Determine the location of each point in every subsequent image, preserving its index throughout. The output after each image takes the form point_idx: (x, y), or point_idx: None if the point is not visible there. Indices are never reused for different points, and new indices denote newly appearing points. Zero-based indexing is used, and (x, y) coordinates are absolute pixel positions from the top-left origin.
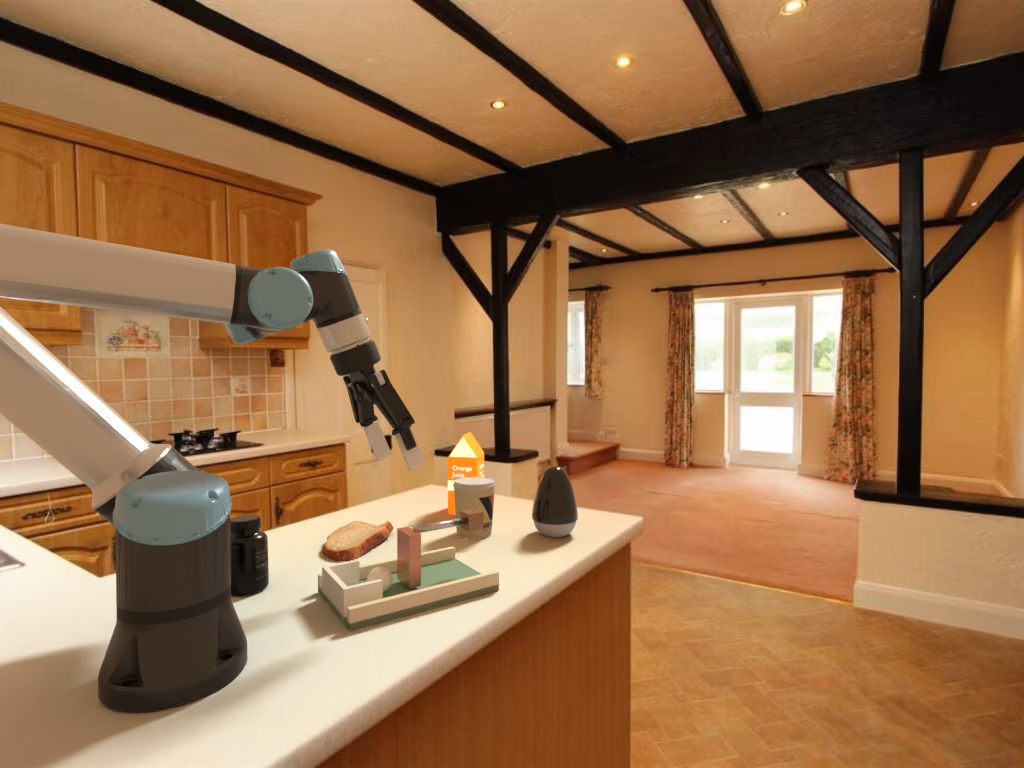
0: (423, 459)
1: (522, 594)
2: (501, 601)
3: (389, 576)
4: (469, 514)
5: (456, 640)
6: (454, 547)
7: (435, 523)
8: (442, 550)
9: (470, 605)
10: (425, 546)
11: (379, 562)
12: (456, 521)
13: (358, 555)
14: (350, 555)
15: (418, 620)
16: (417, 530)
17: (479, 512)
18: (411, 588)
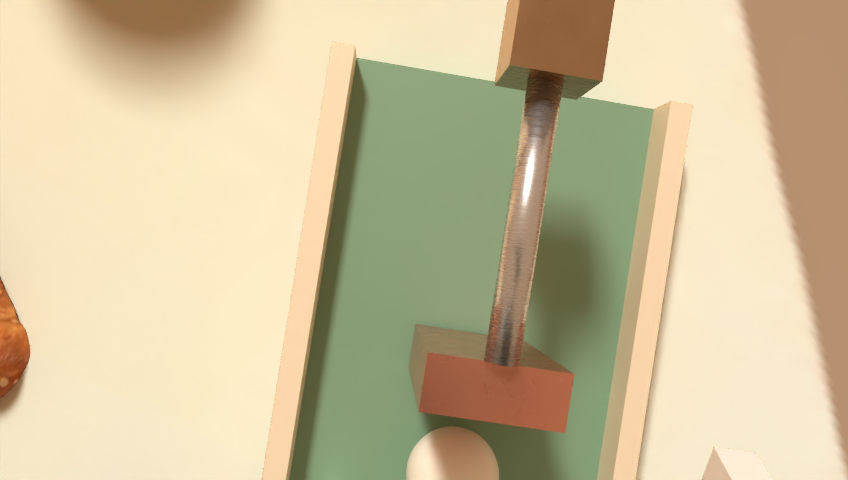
0: (766, 474)
1: (742, 82)
2: (735, 171)
3: (493, 461)
4: (601, 76)
5: (833, 434)
6: (349, 45)
7: (527, 253)
8: (344, 107)
9: (690, 263)
10: (89, 21)
11: (288, 383)
12: (552, 138)
13: (11, 315)
14: (10, 356)
15: (664, 445)
16: (520, 358)
17: (608, 10)
18: None
